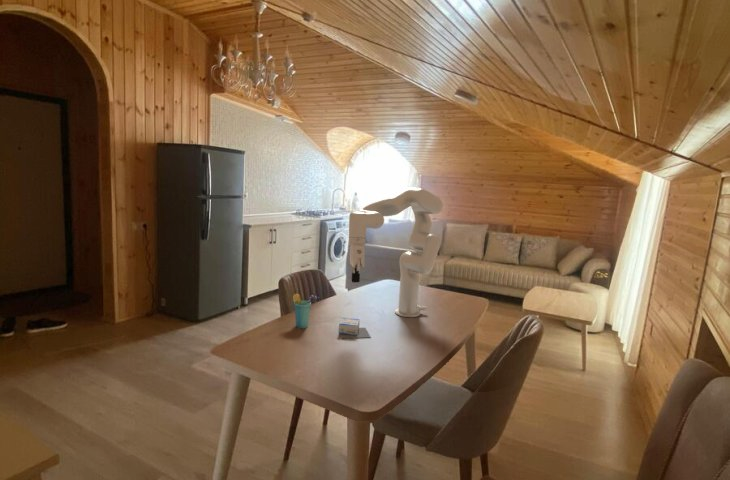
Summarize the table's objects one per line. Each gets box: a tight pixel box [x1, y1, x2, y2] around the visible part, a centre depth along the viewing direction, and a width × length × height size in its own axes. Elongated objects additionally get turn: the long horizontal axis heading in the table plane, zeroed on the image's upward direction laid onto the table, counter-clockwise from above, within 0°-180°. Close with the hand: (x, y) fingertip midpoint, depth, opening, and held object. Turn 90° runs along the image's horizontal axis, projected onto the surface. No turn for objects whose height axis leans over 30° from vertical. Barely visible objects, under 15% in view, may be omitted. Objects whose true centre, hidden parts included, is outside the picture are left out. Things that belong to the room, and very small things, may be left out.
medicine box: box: [338, 317, 360, 335], centre depth 170 cm, size 8×4×9 cm
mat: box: [340, 327, 372, 340], centre depth 169 cm, size 12×11×1 cm
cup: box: [292, 293, 319, 329], centre depth 173 cm, size 14×8×15 cm, turn 67°
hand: (355, 281), depth 172 cm, fingers closed
